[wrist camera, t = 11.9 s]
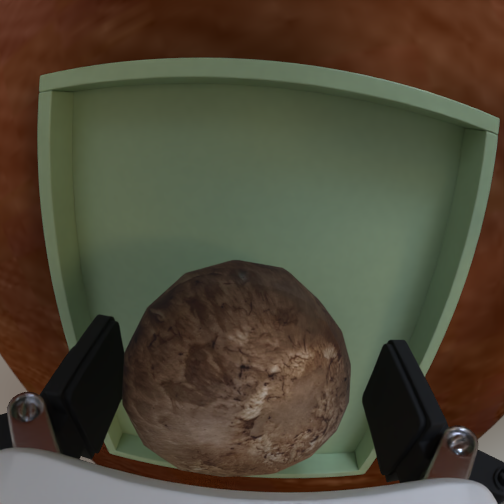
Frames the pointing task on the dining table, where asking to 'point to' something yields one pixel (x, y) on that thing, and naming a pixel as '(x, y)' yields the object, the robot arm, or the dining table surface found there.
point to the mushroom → (236, 372)
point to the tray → (263, 203)
